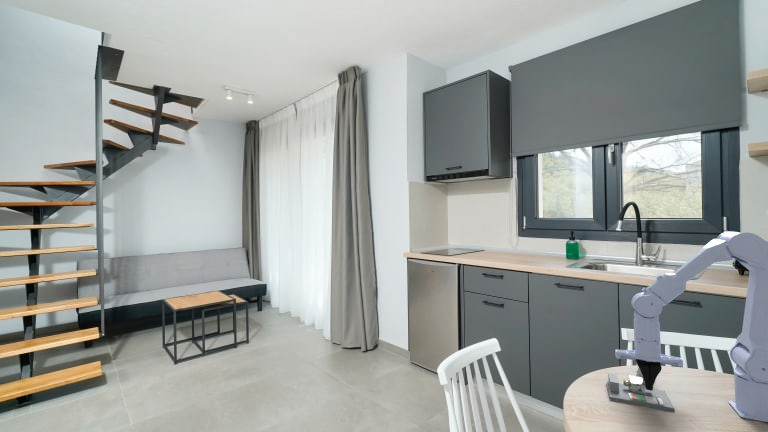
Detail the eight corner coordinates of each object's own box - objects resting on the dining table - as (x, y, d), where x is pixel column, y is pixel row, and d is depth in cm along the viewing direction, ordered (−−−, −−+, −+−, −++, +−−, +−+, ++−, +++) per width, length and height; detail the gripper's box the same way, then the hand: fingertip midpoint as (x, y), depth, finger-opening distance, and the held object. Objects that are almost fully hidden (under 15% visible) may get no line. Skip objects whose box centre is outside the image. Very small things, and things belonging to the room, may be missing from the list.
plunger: (642, 386, 97) (641, 377, 97) (647, 399, 90) (647, 390, 90) (622, 383, 99) (622, 374, 100) (626, 396, 92) (626, 386, 92)
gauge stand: (665, 393, 95) (664, 381, 95) (674, 411, 87) (674, 398, 87) (606, 383, 102) (606, 372, 102) (609, 399, 93) (609, 387, 93)
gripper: (677, 337, 95) (679, 387, 95) (613, 330, 102) (615, 377, 102) (684, 345, 89) (686, 399, 89) (616, 338, 96) (618, 388, 95)
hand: (648, 388), depth 95 cm, fingers closed
